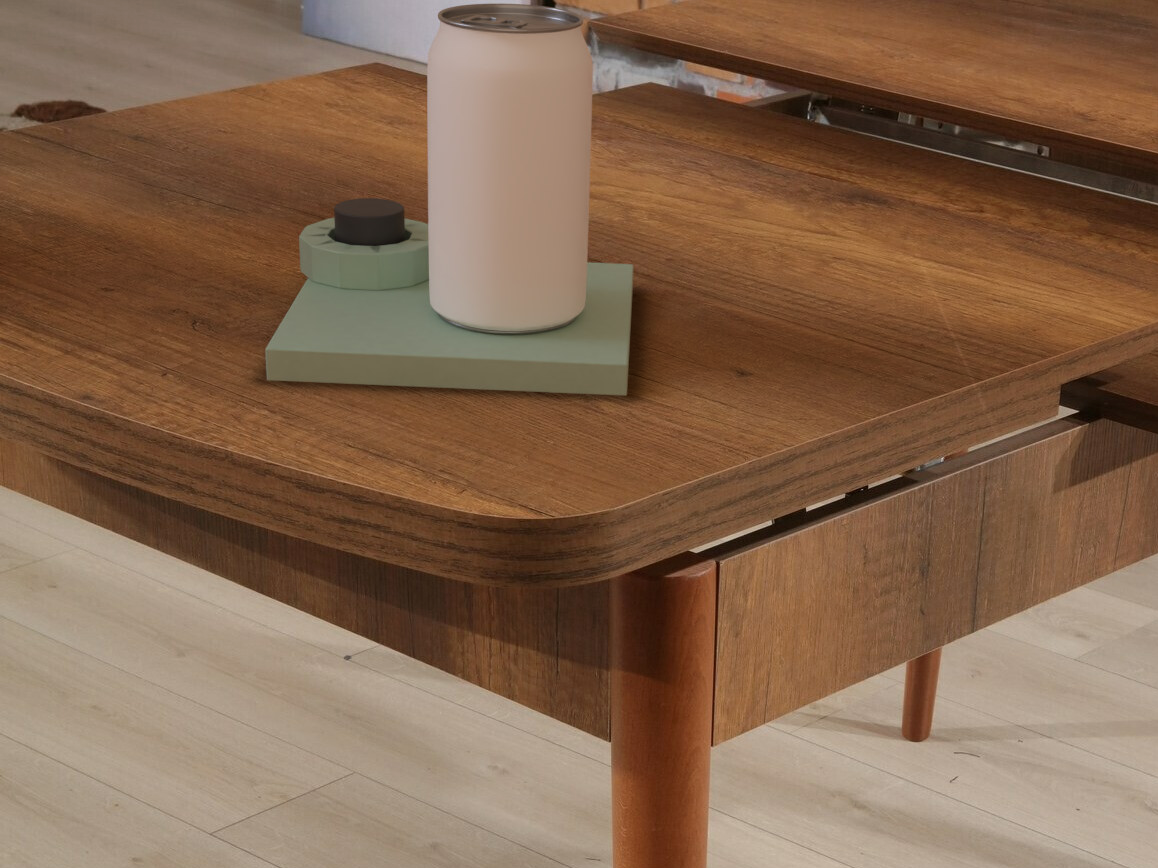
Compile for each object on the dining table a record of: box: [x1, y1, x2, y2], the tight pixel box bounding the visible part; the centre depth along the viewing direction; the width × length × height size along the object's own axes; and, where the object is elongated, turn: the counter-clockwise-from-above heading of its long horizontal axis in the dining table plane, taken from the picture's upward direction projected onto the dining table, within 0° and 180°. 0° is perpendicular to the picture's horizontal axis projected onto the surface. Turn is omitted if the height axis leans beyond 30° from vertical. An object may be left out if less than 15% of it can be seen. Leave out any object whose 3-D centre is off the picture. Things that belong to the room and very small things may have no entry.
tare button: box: [333, 197, 406, 246], centre depth 77 cm, size 3×3×2 cm
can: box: [426, 3, 594, 335], centre depth 71 cm, size 6×6×12 cm
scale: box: [264, 217, 635, 397], centre depth 75 cm, size 14×14×3 cm
